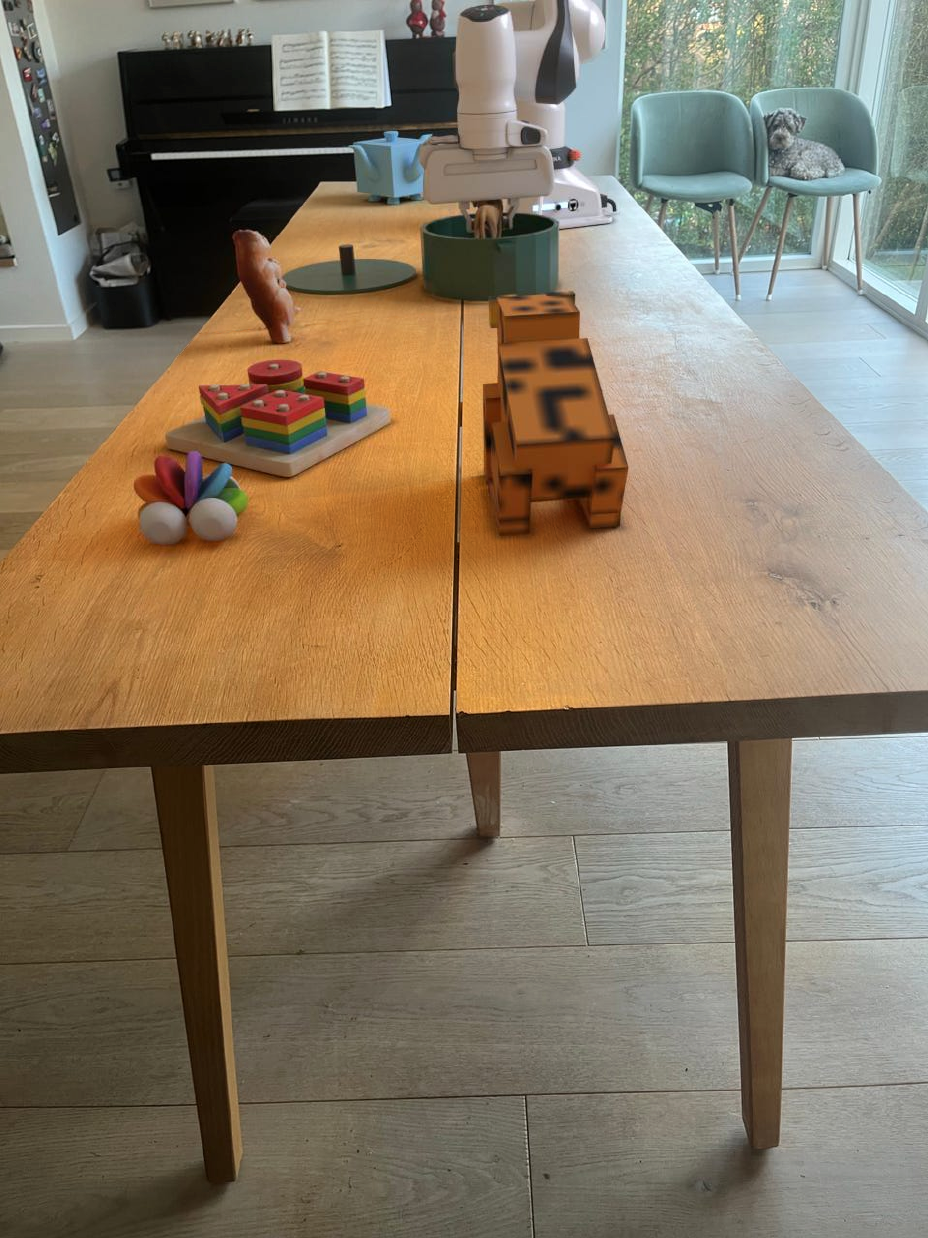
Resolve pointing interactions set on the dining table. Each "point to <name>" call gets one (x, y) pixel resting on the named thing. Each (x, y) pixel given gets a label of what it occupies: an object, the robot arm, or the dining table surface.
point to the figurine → (264, 284)
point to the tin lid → (348, 275)
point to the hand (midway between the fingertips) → (489, 230)
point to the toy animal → (548, 416)
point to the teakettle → (389, 167)
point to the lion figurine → (488, 218)
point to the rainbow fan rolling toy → (188, 501)
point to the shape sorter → (280, 419)
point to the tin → (490, 258)
